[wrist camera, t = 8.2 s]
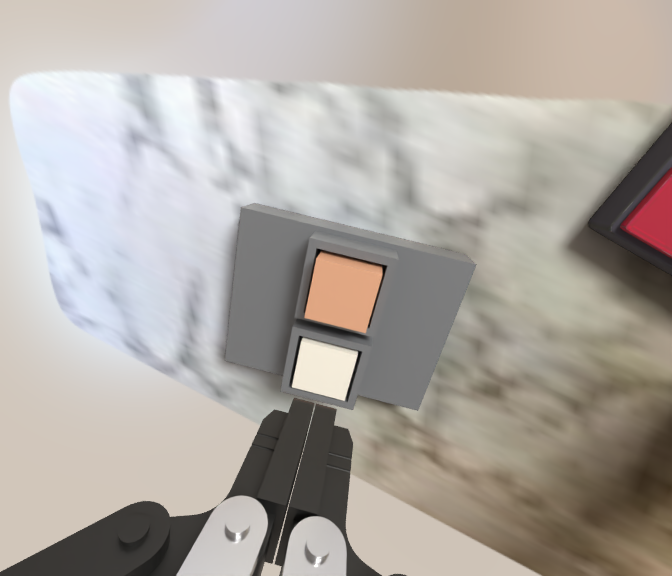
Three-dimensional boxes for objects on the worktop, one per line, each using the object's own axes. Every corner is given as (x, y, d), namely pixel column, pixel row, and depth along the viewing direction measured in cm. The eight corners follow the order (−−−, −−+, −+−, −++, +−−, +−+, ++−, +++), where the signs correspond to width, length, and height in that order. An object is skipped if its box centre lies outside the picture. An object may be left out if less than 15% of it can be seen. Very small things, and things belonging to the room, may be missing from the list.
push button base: (465, 254, 26) (487, 275, 21) (414, 389, 32) (421, 431, 26) (254, 203, 27) (226, 211, 22) (237, 343, 32) (211, 377, 27)
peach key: (381, 264, 23) (382, 274, 21) (366, 317, 25) (365, 333, 22) (322, 249, 23) (316, 258, 21) (311, 303, 25) (304, 317, 22)
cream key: (359, 339, 27) (357, 355, 24) (347, 381, 28) (344, 400, 26) (307, 326, 27) (301, 341, 24) (298, 369, 28) (291, 387, 26)
